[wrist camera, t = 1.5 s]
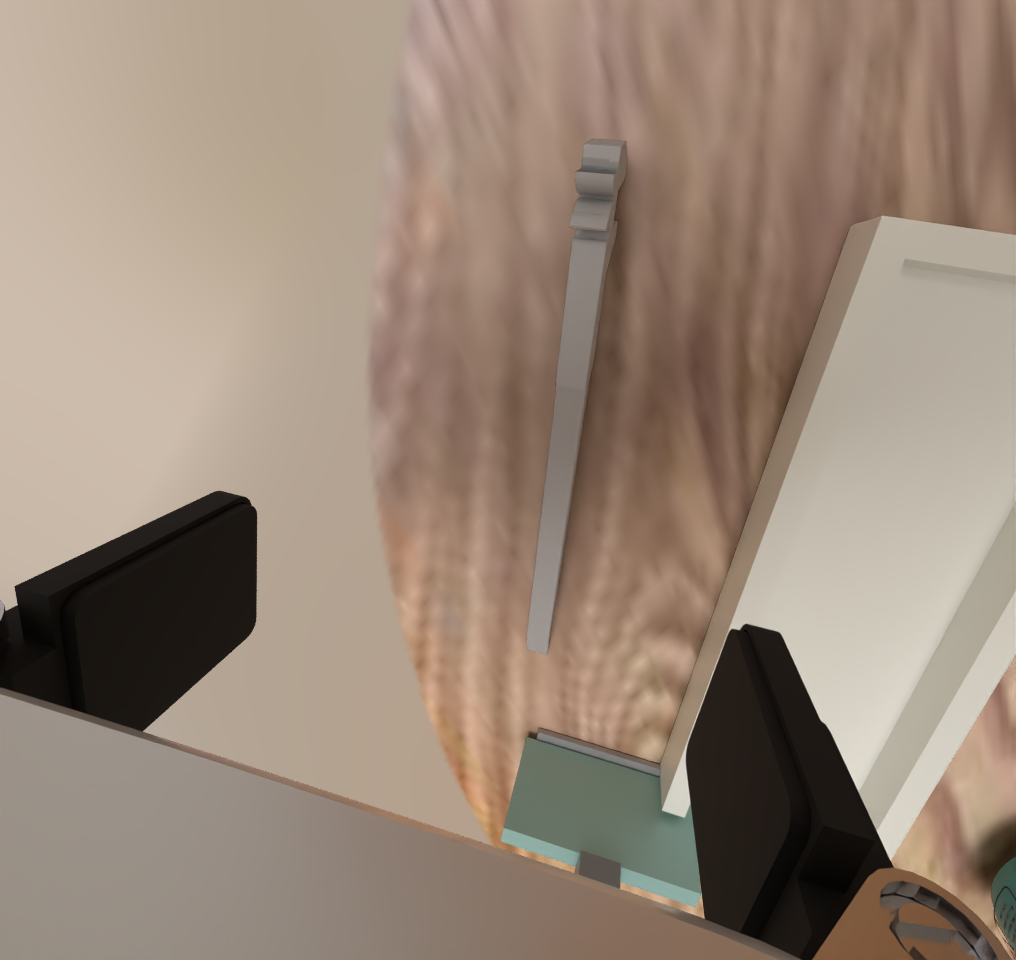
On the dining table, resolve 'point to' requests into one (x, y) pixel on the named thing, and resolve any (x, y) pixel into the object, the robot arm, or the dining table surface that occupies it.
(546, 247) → the dining table surface
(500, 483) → the dining table surface
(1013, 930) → the beverage bottle
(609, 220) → the caliper
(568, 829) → the gate
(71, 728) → the robot arm
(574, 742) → the housing
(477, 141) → the dining table surface
